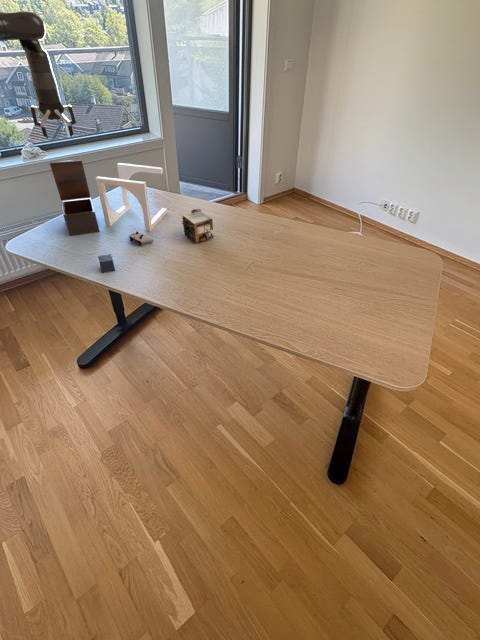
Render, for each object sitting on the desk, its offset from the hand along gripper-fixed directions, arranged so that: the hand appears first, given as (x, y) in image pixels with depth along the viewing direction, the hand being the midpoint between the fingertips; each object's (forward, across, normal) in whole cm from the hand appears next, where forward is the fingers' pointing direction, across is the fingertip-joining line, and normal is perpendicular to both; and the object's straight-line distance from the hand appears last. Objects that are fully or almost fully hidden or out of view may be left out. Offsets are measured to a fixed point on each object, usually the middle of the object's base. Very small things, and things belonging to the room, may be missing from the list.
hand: (59, 137), depth 133 cm
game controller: (+32, -20, +32) cm, 49 cm away
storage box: (+32, 0, +11) cm, 34 cm away
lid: (+15, 0, +5) cm, 16 cm away
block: (+32, -5, +48) cm, 58 cm away
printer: (+32, -43, +38) cm, 66 cm away
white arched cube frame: (+32, -23, +11) cm, 41 cm away
